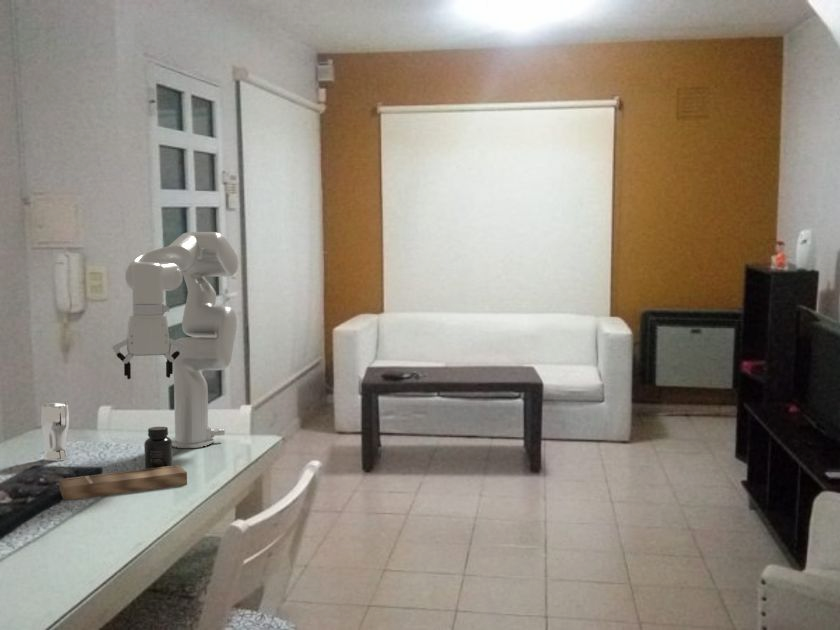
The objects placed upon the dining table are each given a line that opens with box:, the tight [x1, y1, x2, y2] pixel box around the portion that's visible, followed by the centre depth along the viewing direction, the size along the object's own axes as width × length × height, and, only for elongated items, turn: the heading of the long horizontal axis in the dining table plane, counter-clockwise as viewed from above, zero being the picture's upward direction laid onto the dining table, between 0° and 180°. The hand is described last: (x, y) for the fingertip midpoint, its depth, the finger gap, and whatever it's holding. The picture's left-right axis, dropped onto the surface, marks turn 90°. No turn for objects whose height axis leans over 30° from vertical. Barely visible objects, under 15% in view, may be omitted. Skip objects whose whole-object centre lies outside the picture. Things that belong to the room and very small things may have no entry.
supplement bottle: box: [143, 426, 174, 469], centre depth 216 cm, size 7×7×12 cm
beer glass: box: [40, 402, 70, 462], centre depth 231 cm, size 7×7×15 cm
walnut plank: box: [59, 464, 188, 501], centre depth 204 cm, size 28×8×3 cm, turn 119°
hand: (148, 377), depth 216 cm, fingers open, 9 cm apart
